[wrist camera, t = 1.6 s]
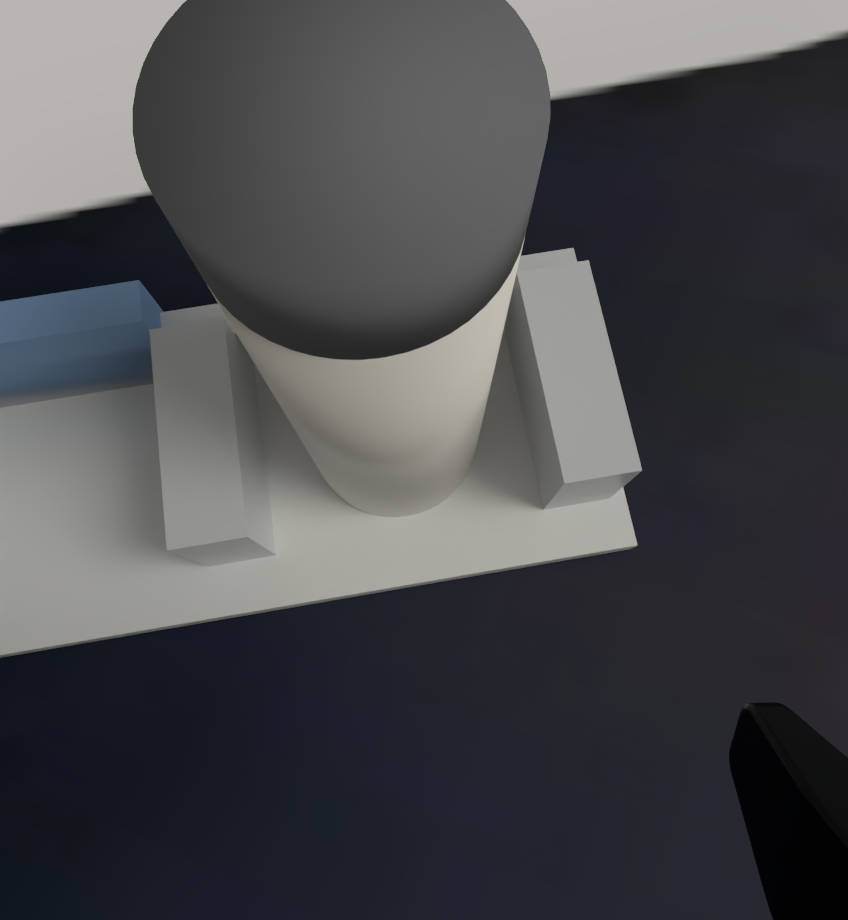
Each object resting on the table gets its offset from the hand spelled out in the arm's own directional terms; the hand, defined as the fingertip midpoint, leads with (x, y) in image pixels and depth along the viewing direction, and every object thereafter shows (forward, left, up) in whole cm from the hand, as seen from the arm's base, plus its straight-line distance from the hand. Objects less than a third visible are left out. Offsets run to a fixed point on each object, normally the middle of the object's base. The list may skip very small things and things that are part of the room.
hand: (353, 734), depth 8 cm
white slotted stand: (+2, +8, -13) cm, 16 cm away
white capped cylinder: (+6, +4, -12) cm, 14 cm away
